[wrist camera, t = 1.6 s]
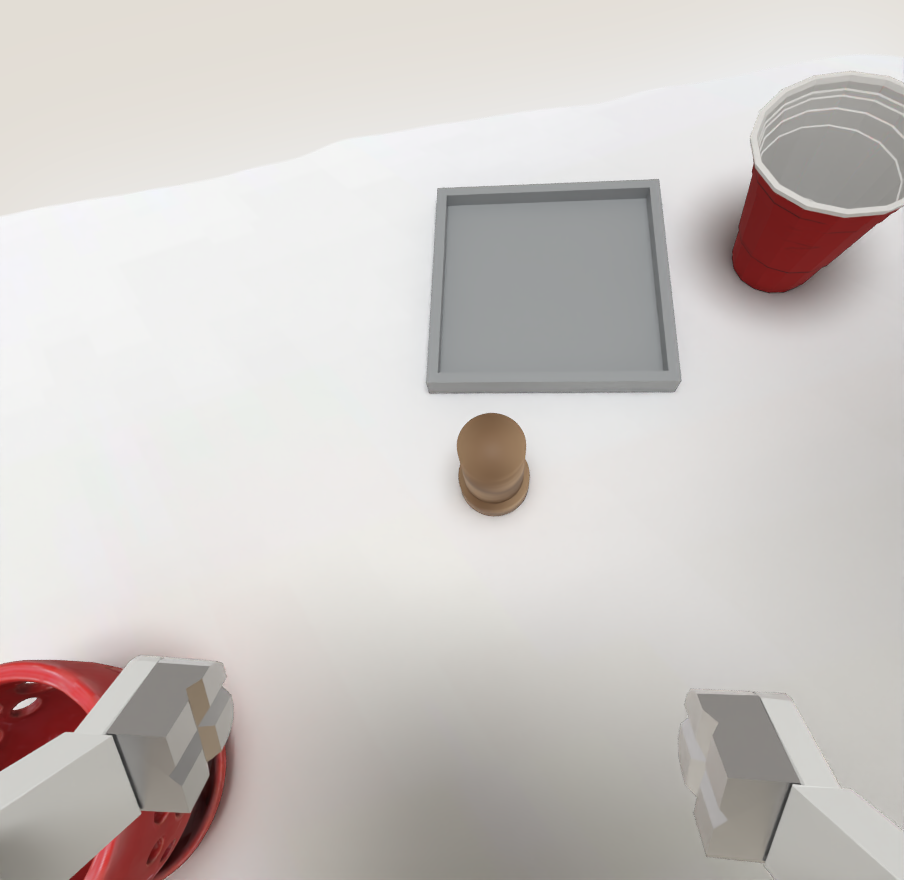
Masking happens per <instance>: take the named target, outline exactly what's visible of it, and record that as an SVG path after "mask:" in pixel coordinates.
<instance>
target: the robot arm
mask: <svg viewBox="0 0 904 880" xmlns="http://www.w3.org/2000/svg"><path fill="white" fill-rule="evenodd" d="M226 677H227V675H226V672H225V669H224V665H223V663H221V662H217V661H208V660H196V659H185V658H173V657H157V656H144V655H139V656H137V657H136V658H134V659H132V660H131V661H130V662H129V663H128V664H127V665H126V667H125V668H124V669H123V671H122V672H121V673H120V674H119V676H118V677H117V678H116V679H115V681H114V682H113V683H112V684H111V686H110V687H109V688H108V689H107V691H106V692H105V693H104V694H103V696H102V697H101V698H100V700H99V701H98V702H97V703H96V705H95V706H94V707H93V708H92V710H91V711H90V712H89V713H88V715H87V716H86V717H85V718H84V720H83V721H82V722H81V723H80V725H79V726H78V727H77V729H76V730H75V731H74V732H64V733H63V734H61V735H59V736H58V737H56V738H54V739H53V740H51V741H50V742H48V743H46V744H45V745H43V746H41V747H40V748H38V749H36V750H35V751H33V752H32V753H30V754H28V755H27V756H25V757H23V758H22V759H20V760H18V761H17V762H15V763H13V764H12V765H10V766H9V767H7V768H5V769H4V770H2V771H0V880H69V879H70V878H71V877H72V876H74V875H75V874H76V873H77V872H78V871H79V870H80V869H81V868H82V867H83V866H85V865H86V864H87V863H88V862H89V861H90V860H91V859H92V858H93V857H94V856H96V855H97V854H98V853H99V852H100V851H101V850H102V849H103V848H104V847H105V846H107V845H108V844H109V843H110V842H111V841H112V840H113V839H114V838H115V837H116V836H117V835H119V834H120V833H121V832H122V831H123V830H124V829H125V828H126V827H127V826H128V825H130V824H131V823H132V822H133V821H134V820H135V819H136V818H137V817H138V816H139V815H141V811H158V812H177V813H191V811H192V809H193V807H194V805H195V803H196V801H197V799H198V797H199V795H200V793H201V791H202V789H203V787H204V785H205V783H206V781H207V779H208V777H209V770H208V764H207V762H208V761H210V760H211V759H212V758H213V757H215V756H216V755H217V754H219V753H220V752H221V751H222V749H223V747H224V745H225V743H226V741H227V739H228V737H229V734H230V730H231V726H232V722H233V716H234V705H233V700H232V696H231V694H230V693H229V692H228V691H227V690H226V689H225V688H223V687H222V684H223V683H224V681H225V679H226ZM684 705H685V708H686V711H687V714H688V718H687V719H686V720H685V721H683V722H682V723H681V724H680V729H679V735H678V755H679V761H680V767H681V772H682V775H683V779H684V782H685V785H686V786H687V787H688V788H689V789H690V791H691V792H692V793H693V794H694V795H695V796H696V797H697V799H696V803H695V807H694V812H693V813H694V817H695V820H696V824H697V827H698V830H699V834H700V837H701V840H702V844H703V847H704V850H705V854H706V857H714V858H723V859H732V860H741V861H750V862H759V863H765V865H764V867H765V868H766V869H767V870H768V872H769V873H770V874H771V875H772V876H773V878H774V879H775V880H904V831H903V830H902V829H901V828H899V827H898V826H897V825H896V824H894V823H893V822H892V821H891V820H889V819H888V818H887V817H886V816H885V815H883V814H882V813H881V812H880V811H878V810H877V809H876V808H875V807H873V806H872V805H871V804H870V803H868V802H867V801H866V800H865V799H864V798H862V797H861V796H860V795H859V794H857V793H856V792H855V791H854V790H852V789H848V788H841V787H840V785H839V783H838V781H837V779H836V777H835V776H834V774H833V772H832V770H831V768H830V767H829V765H828V763H827V761H826V759H825V758H824V756H823V754H822V752H821V750H820V749H819V747H818V745H817V743H816V741H815V740H814V738H813V736H812V734H811V732H810V731H809V729H808V727H807V725H806V723H805V722H804V720H803V718H802V716H801V714H800V713H799V711H798V709H797V707H796V705H795V704H794V702H793V700H792V699H791V698H790V697H789V696H788V695H787V694H786V693H769V692H750V691H733V690H712V689H690V690H689V692H688V693H687V696H686V700H685V704H684Z"/></svg>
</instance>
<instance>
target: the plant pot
mask: <svg viewBox="0 0 904 880" xmlns="http://www.w3.org/2000/svg"><path fill="white" fill-rule="evenodd" d="M122 671H123V669H122V668H118V667H114V666H109V665H104V664H99V663H93V662H79V661H65V660H22V661H14V662H9V663H3V664H0V771H2V770H4V769H5V768H7V767H9V766H10V765H12V764H13V763H15V762H17V761H18V760H20V759H22V758H23V757H25V756H27V755H28V754H30V753H32V752H33V751H35V750H36V749H38V748H40V747H41V746H43V745H45V744H46V743H48V742H50V741H51V740H53V739H54V738H56V737H58V736H59V735H61V734H63V733H64V732H74V731H75V730H76V729H77V727H78V726H79V725H80V723H81V722H82V721H83V720H84V718H85V717H86V716H87V715H88V713H89V712H90V711H91V710H92V708H93V707H94V706H95V705H96V703H97V702H98V701H99V700H100V698H101V697H102V696H103V694H104V693H105V692H106V691H107V689H108V688H109V687H110V686H111V684H112V683H113V682H114V681H115V679H116V678H117V677H118V676H119V674H120V673H121V672H122ZM26 682H36V683H26ZM33 697H36V698H37V699H36V700H35V701H34V702H33V703H32V704H30V705H29V706H27V707H25V708H22V709H19V710H12V709H13V708H14V707H15V706H16V705H17V704H18V703H20V702H21V701H23V700H26V699H28V698H33ZM207 764H208V770H209V777H208V779H207V781H206V783H205V785H204V787H203V789H202V791H201V793H200V795H199V797H198V799H197V801H196V803H195V805H194V807H193V809H192V811H191V813H177V812H158V811H141V815H139V816H138V817H137V818H136V819H135V820H134V821H133V822H132V823H131V824H130V825H128V826H127V827H126V828H125V829H124V830H123V831H122V832H121V833H120V834H119V835H117V836H116V837H115V838H114V839H113V840H112V841H111V842H110V843H109V844H108V845H107V846H105V847H104V848H103V849H102V850H101V851H100V852H99V853H98V854H97V855H96V856H94V857H93V858H92V859H91V860H90V861H89V862H88V863H87V864H86V865H85V866H83V867H82V868H81V869H80V870H79V871H78V872H77V873H76V874H75V875H74V876H72V877H71V878H70V879H69V880H163V879H164V878H166V877H167V876H169V875H170V874H171V873H173V872H174V871H175V870H176V869H178V868H179V867H180V866H181V865H182V864H183V863H184V862H185V861H186V860H187V859H188V858H189V857H190V855H191V854H192V853H193V852H194V851H195V849H196V848H197V847H198V845H199V844H200V842H201V841H202V839H203V838H204V836H205V834H206V832H207V831H208V829H209V827H210V825H211V823H212V821H213V818H214V816H215V814H216V811H217V808H218V805H219V802H220V799H221V796H222V791H223V787H224V781H225V772H226V751H225V745H224V747H223V749H222V751H221V752H220V753H219V754H217V755H216V756H215V757H213V758H212V759H211V760H210V761H208V762H207Z"/></svg>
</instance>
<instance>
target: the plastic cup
mask: <svg viewBox="0 0 904 880" xmlns="http://www.w3.org/2000/svg"><path fill="white" fill-rule="evenodd" d="M750 143H751V148H752V154H753V161H754V164H753V169H752V179H751V182H750V186H749V190H748V193H747V197H746V201H745V205H744V208H743V212H742V216H741V219H740V223H739V227H738V228H739V232H738V235H737V238H736V241H735V244H734V248H733V251H732V253H733V256H732V261H733V267H734V270H735V271H736V273H737V274H738V276H739V277H740V279H741V280H742V281H744V282H745V283H747V284H748V285H750V286H751V287H752V288H754V289H758V290H761V291H765V292H768V293H770V292H785V291H788V290H790V289H793V288H795V287H797V286H799V285H801V284H803V283H804V282H805V281H807V280H808V279H809V278H810V277H811V276H813V275H814V274H815V273H816V272H817V271H819V270H820V269H821V268H822V267H825V266H827V265H828V264H829V263H830V262H832V261H833V260H834V259H835V258H836V257H838V256H839V255H840V254H841V253H843V252H844V251H845V250H846V249H847V248H849V247H850V246H851V245H852V244H853V243H855V242H856V241H857V240H858V239H859V238H861V237H862V236H863V235H864V234H865V233H867V232H868V231H869V230H870V229H872V228H873V227H874V226H875V225H876V224H878V223H880V222H882V221H883V220H885V219H886V218H887V217H888V216H889V215H890V214H892V213H894V212H896V211H897V210H898V209H899V208H901V207H903V206H904V83H903V82H901V81H899V80H897V79H895V78H892V77H890V76H885V75H877V74H870V73H863V72H856V71H846V72H838V73H830V74H822V75H814V76H812V77H809V78H807V79H805V80H802V81H800V82H798V83H796V84H793V85H791V86H789V87H786V88H784V89H782V90H781V91H780V92H779V93H778V94H777V95H776V96H774V97H773V98H772V99H771V100H770V101H769V102H768V103H767V104H766V105H765V106H764V107H763V108H762V109H761V110H760V111H759V114H758V117H757V119H756V122H755V125H754V127H753V130H752V133H751V136H750Z"/></svg>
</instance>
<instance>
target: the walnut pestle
mask: <svg viewBox="0 0 904 880" xmlns="http://www.w3.org/2000/svg"><path fill="white" fill-rule="evenodd" d="M457 452H458V456H459V460H460V468H459V474H458V476H459V484H460V487H461V491H462V494H463V496H464V498H465V500H466V502H467V503H468V504H469V505H470V506H471V507H472V508H473V509H474V510H476V511H477V512H479V513H481V514H484V515H488V516H501V515H505V514H508V513H510V512H512V511H514V510H515V509H516V508H518V507H519V506H520V505H521V503H522V502H523V501H524V499H525V497H526V495H527V492H528V486H529V476H530V474H529V467H528V464H527V462H526V460H525V453H526V440H525V436H524V433H523V431H522V429H521V428H520V426H519V425H518V424H517V423H516V422H515V421H514V420H512V419H511V418H509V417H507V416H505V415H502V414H497V413H487V414H482V415H479V416H477V417H474V418H473V419H471V420H470V421H469V422H467V423H466V424H465V425H464V427H463V428H462V430H461V431H460V434H459V436H458V440H457Z"/></svg>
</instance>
